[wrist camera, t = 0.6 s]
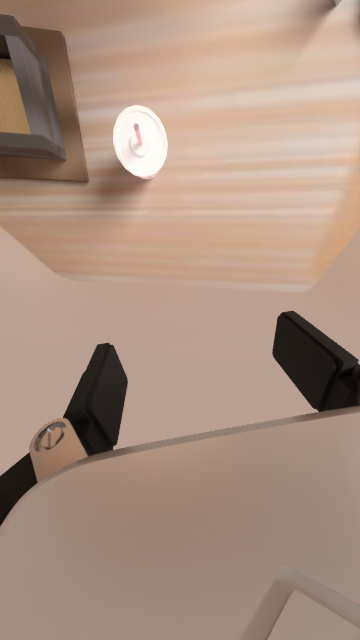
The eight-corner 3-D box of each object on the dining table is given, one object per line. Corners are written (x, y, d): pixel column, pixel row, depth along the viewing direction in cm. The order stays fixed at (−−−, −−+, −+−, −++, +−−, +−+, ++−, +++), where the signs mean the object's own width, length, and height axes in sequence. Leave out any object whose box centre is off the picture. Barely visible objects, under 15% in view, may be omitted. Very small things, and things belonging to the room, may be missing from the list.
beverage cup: (121, 174, 30) (95, 150, 18) (130, 125, 27) (108, 56, 15) (158, 192, 31) (157, 181, 19) (170, 146, 29) (179, 101, 17)
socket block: (-67, 21, 21) (-156, -54, 15) (64, 38, 23) (30, -24, 17) (-9, 176, 28) (-54, 167, 22) (88, 181, 30) (71, 174, 24)
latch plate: (-35, 59, 21) (-43, 53, 20) (27, 66, 22) (22, 60, 21) (-8, 137, 24) (-14, 134, 23) (45, 141, 25) (41, 139, 24)
